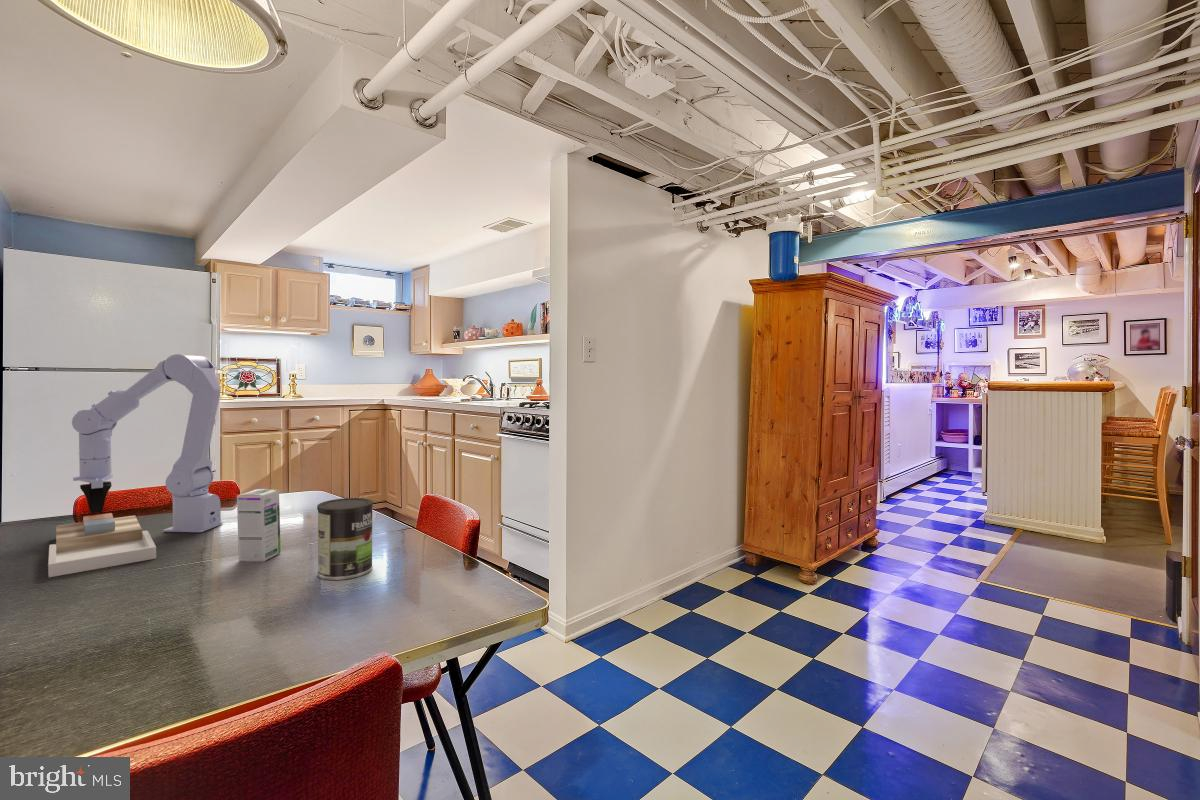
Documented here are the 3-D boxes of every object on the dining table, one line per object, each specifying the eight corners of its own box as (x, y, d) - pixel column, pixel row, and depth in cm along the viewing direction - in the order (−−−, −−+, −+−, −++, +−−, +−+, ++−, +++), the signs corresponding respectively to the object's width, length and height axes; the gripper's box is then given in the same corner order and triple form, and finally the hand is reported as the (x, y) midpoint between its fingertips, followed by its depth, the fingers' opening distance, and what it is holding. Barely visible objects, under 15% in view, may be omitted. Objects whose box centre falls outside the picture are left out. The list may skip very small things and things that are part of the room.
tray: (49, 556, 113) (49, 544, 113) (147, 540, 125) (147, 530, 125) (48, 577, 102) (48, 564, 102) (156, 558, 114) (156, 546, 114)
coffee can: (383, 564, 113) (383, 499, 112) (351, 583, 103) (351, 511, 102) (340, 560, 115) (340, 495, 114) (305, 577, 105) (304, 507, 104)
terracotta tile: (83, 524, 126) (83, 516, 126) (111, 521, 130) (111, 512, 130) (84, 529, 123) (83, 520, 123) (113, 525, 126) (113, 517, 126)
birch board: (56, 538, 125) (56, 525, 125) (135, 527, 135) (135, 515, 135) (56, 555, 114) (56, 541, 114) (142, 541, 124) (141, 529, 124)
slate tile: (84, 529, 122) (83, 521, 122) (113, 525, 126) (113, 517, 126) (84, 534, 119) (84, 525, 119) (115, 530, 123) (114, 521, 122)
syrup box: (264, 562, 113) (263, 494, 112) (237, 561, 113) (236, 493, 112) (281, 553, 119) (280, 488, 118) (254, 552, 119) (254, 488, 118)
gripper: (72, 455, 133) (73, 509, 134) (73, 463, 123) (74, 521, 124) (110, 453, 138) (111, 504, 139) (114, 460, 128) (115, 516, 129)
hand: (96, 512), depth 132 cm, fingers closed
